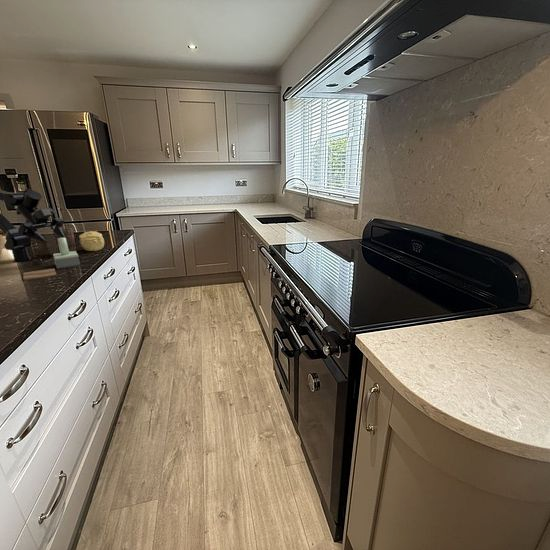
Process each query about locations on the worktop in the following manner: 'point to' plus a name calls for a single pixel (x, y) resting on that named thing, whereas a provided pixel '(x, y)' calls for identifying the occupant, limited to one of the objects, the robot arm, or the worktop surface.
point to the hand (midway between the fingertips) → (55, 239)
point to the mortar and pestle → (67, 237)
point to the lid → (64, 250)
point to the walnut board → (39, 274)
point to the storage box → (67, 262)
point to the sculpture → (92, 241)
